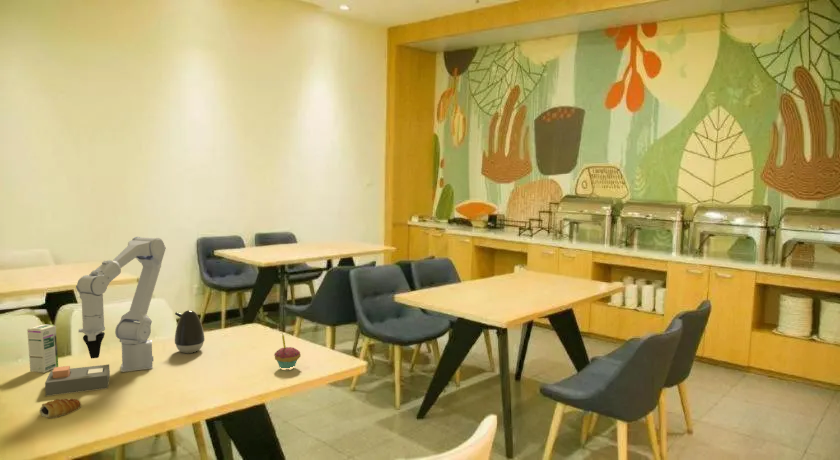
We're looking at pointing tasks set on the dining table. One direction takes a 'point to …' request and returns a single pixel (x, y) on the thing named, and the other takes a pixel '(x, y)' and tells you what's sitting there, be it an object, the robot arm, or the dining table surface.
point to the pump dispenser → (189, 332)
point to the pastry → (59, 407)
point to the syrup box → (42, 348)
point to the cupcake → (287, 356)
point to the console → (78, 381)
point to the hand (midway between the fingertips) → (94, 357)
